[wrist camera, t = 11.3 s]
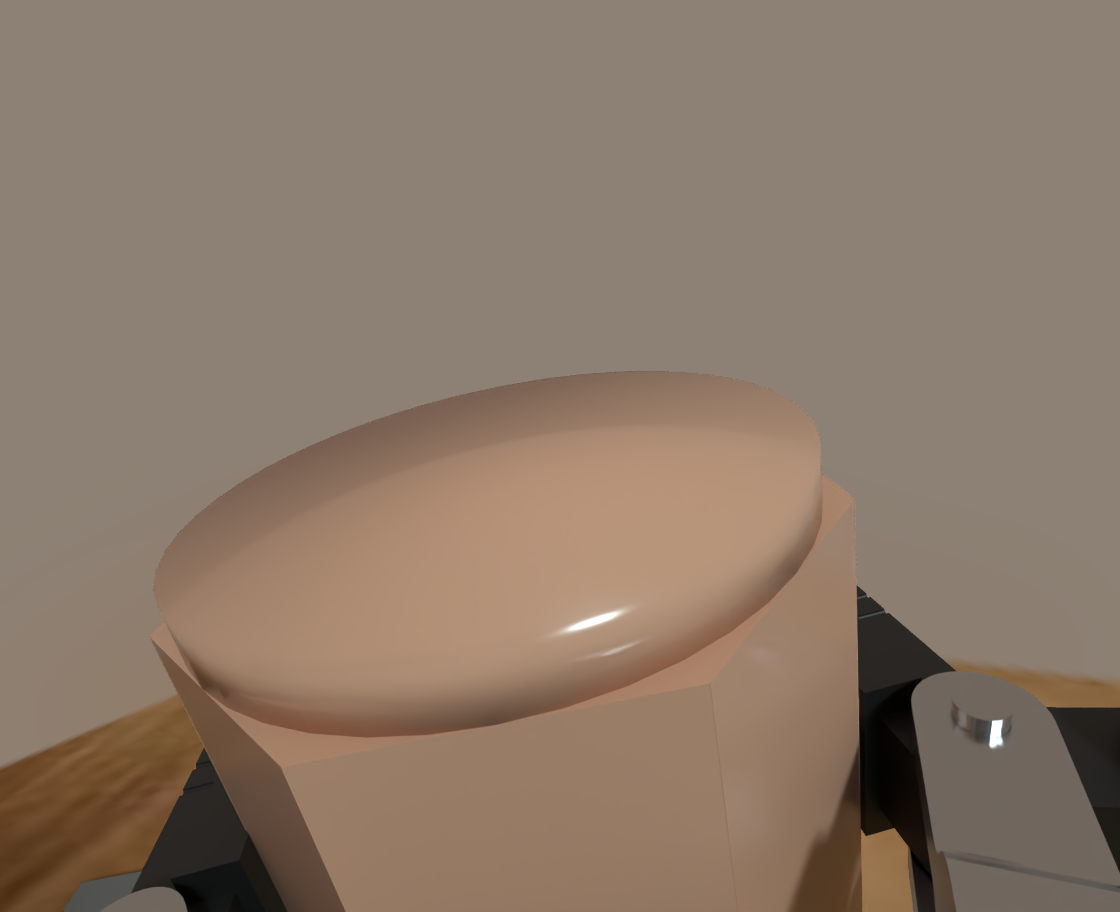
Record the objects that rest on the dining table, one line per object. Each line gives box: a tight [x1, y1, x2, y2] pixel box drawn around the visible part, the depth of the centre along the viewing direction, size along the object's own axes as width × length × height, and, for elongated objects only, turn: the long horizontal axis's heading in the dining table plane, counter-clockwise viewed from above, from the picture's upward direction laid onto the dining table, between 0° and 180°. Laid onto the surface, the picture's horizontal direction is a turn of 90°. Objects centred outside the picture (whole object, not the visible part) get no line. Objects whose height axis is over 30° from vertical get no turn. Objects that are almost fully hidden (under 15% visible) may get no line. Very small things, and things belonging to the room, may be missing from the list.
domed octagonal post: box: [150, 371, 862, 912], centre depth 9 cm, size 7×7×10 cm
